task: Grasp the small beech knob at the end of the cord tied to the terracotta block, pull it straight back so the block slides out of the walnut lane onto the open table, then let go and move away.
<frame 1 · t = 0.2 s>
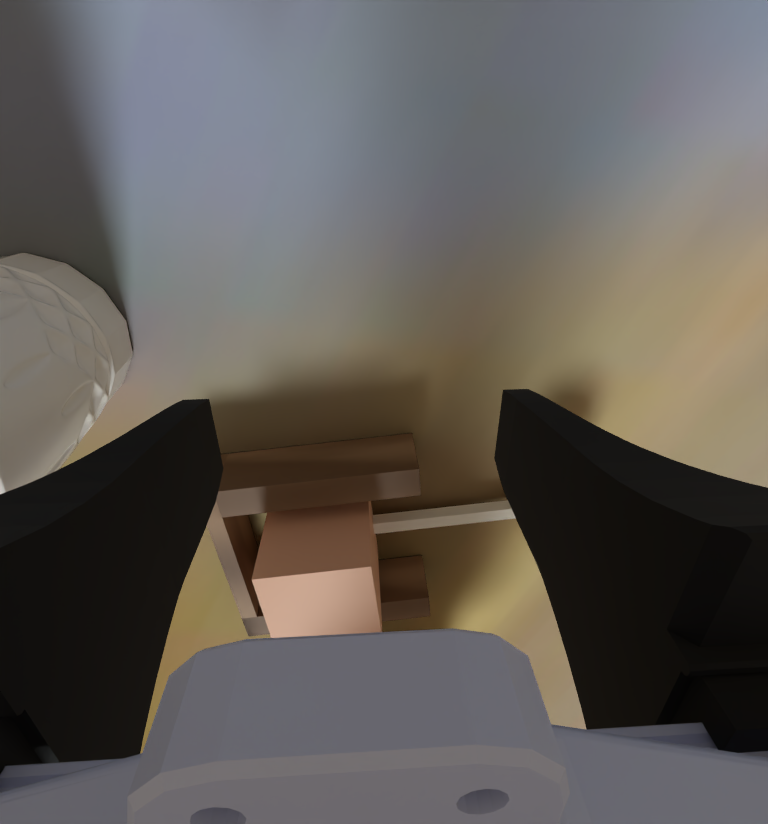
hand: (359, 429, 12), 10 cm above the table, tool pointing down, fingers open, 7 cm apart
white cup: (53, 332, 21), on the table
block: (327, 519, 26), on the table
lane: (327, 519, 26), on the table
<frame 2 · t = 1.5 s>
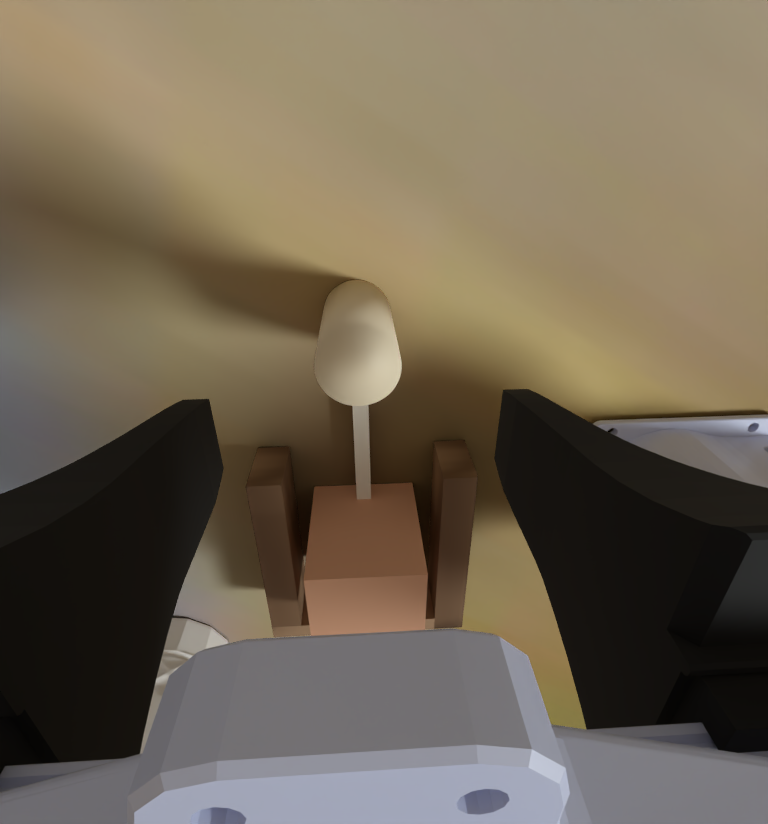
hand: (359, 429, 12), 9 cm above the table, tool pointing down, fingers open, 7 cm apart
white cup: (179, 647, 30), on the table
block: (364, 521, 26), on the table
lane: (364, 522, 26), on the table
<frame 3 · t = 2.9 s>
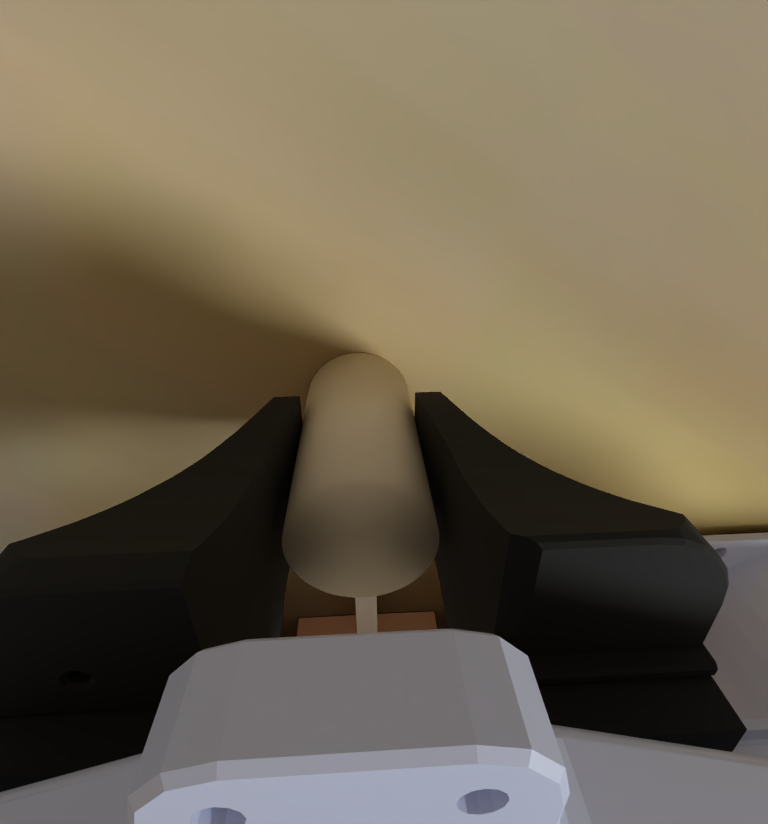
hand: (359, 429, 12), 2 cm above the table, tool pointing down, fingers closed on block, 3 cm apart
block: (368, 656, 19), on the table, touching gripper
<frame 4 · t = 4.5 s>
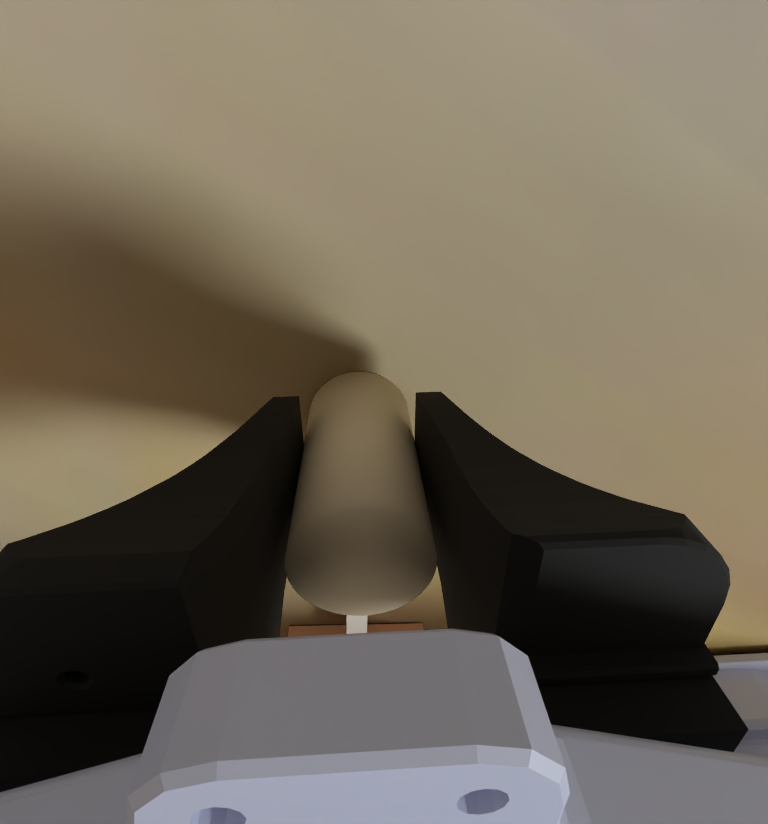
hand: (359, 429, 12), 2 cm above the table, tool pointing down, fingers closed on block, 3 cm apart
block: (355, 665, 19), on the table, touching gripper
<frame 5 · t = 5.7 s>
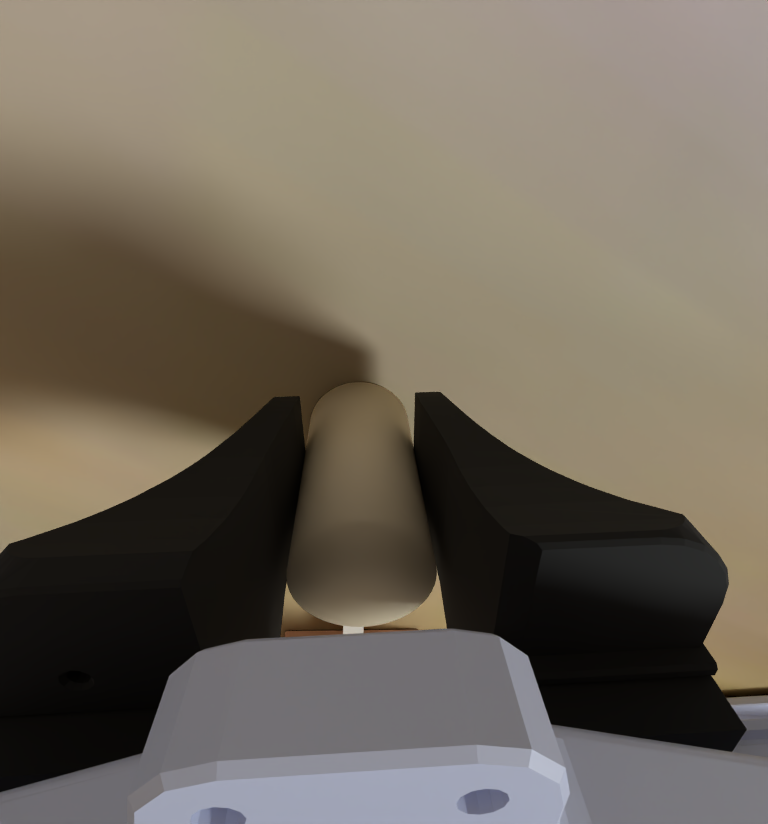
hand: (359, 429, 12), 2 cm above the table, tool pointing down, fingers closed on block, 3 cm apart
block: (351, 670, 19), on the table, touching gripper
when the fingers open (2 cm above the table, at t = 6.2 s): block stays where it is, on the table.
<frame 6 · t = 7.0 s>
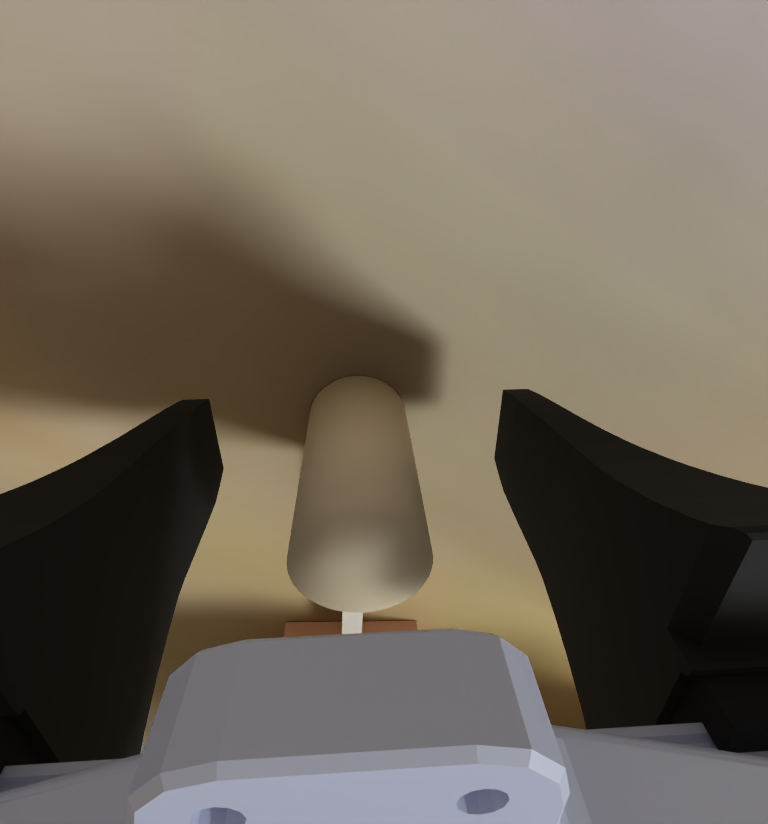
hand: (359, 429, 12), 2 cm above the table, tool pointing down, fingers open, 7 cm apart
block: (350, 661, 20), on the table
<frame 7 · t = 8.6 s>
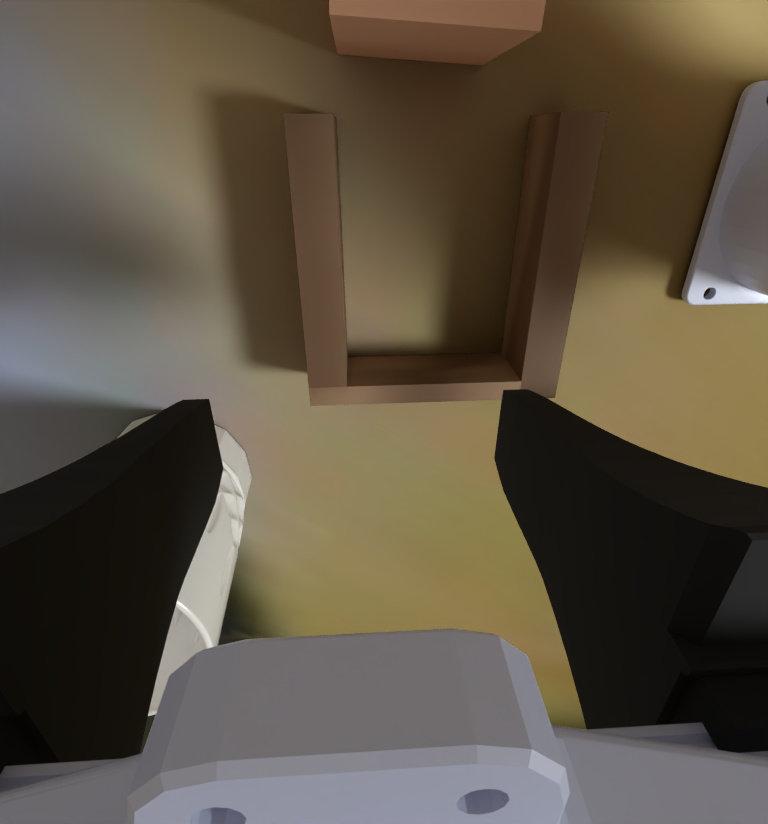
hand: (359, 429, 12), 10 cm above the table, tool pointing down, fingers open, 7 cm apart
white cup: (184, 466, 24), on the table
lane: (428, 259, 20), on the table
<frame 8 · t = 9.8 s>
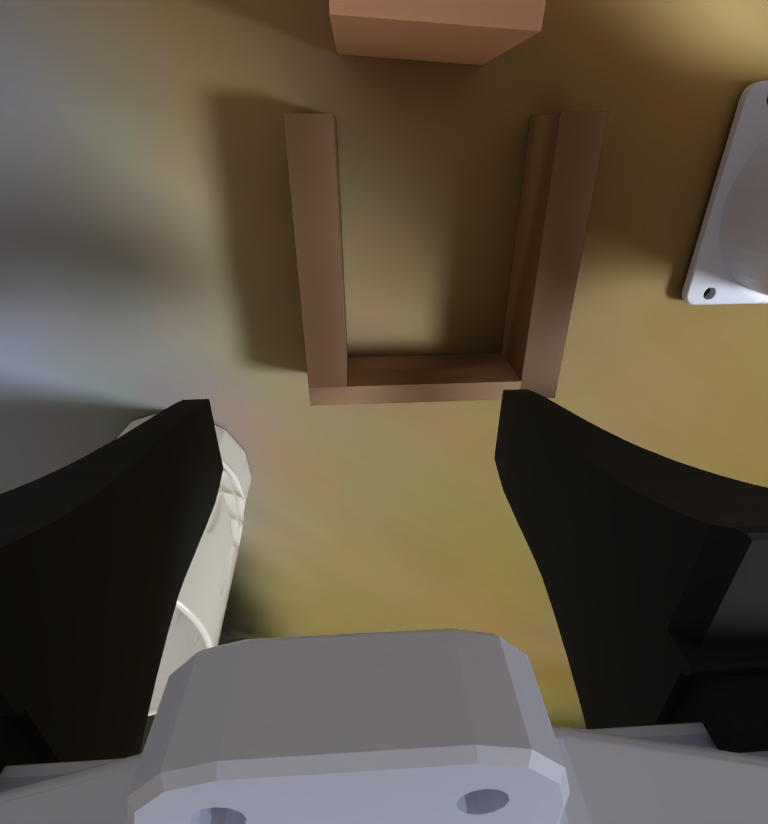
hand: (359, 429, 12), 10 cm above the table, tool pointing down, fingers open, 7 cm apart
white cup: (184, 466, 24), on the table
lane: (428, 259, 20), on the table
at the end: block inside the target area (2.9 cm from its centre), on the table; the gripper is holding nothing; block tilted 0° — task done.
